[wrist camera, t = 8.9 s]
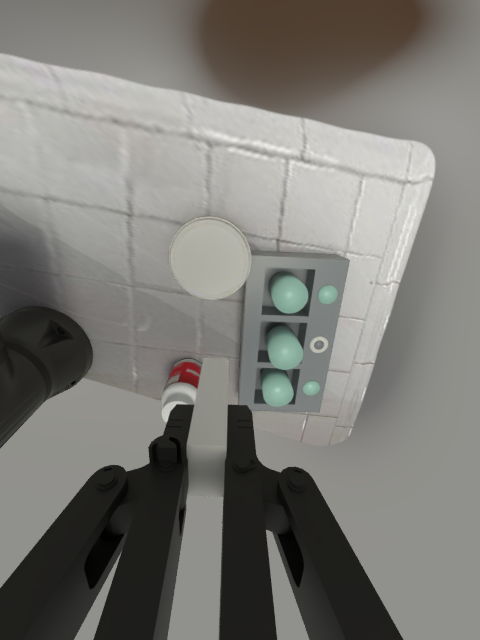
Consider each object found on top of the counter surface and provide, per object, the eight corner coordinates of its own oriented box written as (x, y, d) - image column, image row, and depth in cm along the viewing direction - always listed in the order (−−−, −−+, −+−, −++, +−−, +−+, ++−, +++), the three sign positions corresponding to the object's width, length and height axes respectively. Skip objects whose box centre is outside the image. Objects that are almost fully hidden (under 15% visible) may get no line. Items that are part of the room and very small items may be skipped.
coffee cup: (248, 276, 43) (254, 298, 32) (189, 280, 43) (174, 304, 32) (244, 212, 40) (249, 213, 29) (180, 217, 40) (160, 219, 29)
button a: (259, 387, 49) (261, 406, 44) (261, 364, 47) (264, 381, 42) (285, 388, 49) (291, 407, 44) (289, 365, 47) (295, 382, 42)
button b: (264, 352, 44) (267, 369, 39) (266, 325, 42) (270, 339, 38) (293, 353, 44) (300, 370, 40) (297, 326, 42) (305, 340, 38)
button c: (267, 301, 43) (271, 312, 38) (269, 271, 41) (274, 278, 36) (297, 303, 43) (305, 314, 38) (301, 272, 41) (310, 280, 36)
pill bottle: (212, 377, 50) (207, 420, 40) (185, 392, 51) (173, 437, 41) (193, 351, 48) (182, 390, 38) (164, 367, 49) (147, 409, 39)
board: (237, 392, 51) (238, 411, 46) (246, 250, 42) (248, 255, 37) (311, 394, 52) (320, 413, 47) (336, 254, 42) (350, 260, 37)
